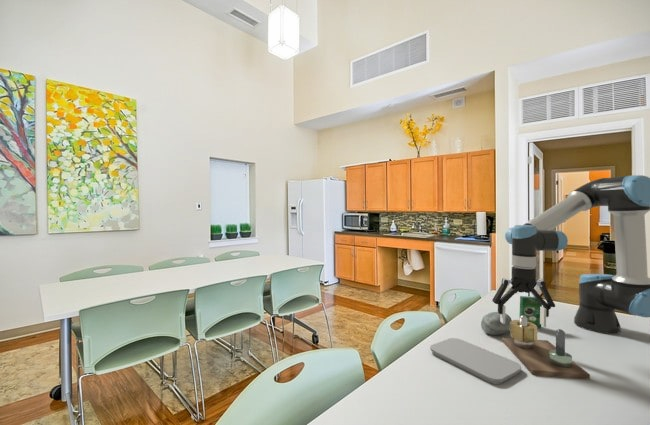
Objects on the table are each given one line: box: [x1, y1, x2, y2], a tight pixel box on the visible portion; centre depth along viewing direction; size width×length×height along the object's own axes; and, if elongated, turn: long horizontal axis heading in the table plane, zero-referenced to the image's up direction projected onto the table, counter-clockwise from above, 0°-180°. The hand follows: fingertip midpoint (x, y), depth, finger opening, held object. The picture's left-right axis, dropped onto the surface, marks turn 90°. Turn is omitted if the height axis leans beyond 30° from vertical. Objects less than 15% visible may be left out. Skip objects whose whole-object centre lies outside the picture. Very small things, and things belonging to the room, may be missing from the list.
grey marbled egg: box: [480, 311, 513, 336], centre depth 129 cm, size 14×10×10 cm
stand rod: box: [514, 315, 533, 349], centre depth 113 cm, size 6×6×11 cm
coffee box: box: [518, 295, 543, 329], centre depth 134 cm, size 8×3×13 cm, turn 79°
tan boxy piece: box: [509, 319, 538, 342], centre depth 113 cm, size 8×8×5 cm
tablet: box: [429, 337, 522, 385], centre depth 105 cm, size 16×26×2 cm, turn 31°
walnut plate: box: [501, 337, 591, 380], centre depth 107 cm, size 16×24×2 cm, turn 170°
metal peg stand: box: [549, 328, 573, 368], centre depth 100 cm, size 6×6×11 cm
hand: (522, 324), depth 113 cm, fingers open, 13 cm apart
